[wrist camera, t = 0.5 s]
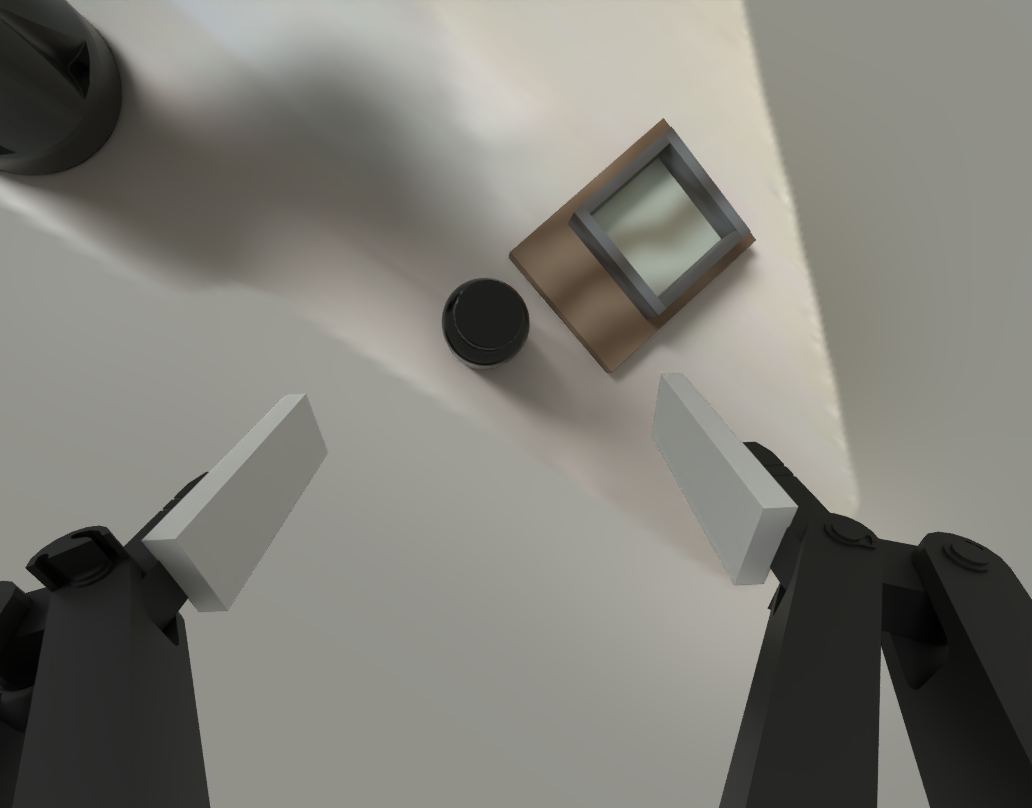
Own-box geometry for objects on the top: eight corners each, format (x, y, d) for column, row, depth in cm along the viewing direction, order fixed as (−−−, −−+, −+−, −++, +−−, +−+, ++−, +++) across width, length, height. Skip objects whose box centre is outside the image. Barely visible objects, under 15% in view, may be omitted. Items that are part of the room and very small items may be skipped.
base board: (508, 257, 38) (513, 242, 34) (656, 128, 39) (677, 99, 35) (606, 372, 40) (621, 370, 36) (745, 245, 41) (775, 230, 37)
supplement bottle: (437, 357, 38) (422, 343, 26) (460, 290, 38) (454, 245, 26) (504, 380, 39) (519, 377, 27) (526, 314, 39) (551, 282, 27)
